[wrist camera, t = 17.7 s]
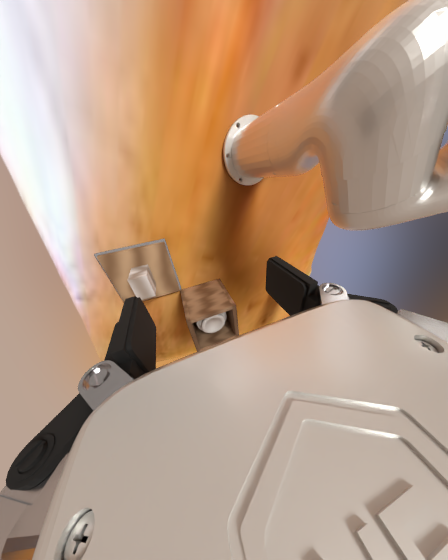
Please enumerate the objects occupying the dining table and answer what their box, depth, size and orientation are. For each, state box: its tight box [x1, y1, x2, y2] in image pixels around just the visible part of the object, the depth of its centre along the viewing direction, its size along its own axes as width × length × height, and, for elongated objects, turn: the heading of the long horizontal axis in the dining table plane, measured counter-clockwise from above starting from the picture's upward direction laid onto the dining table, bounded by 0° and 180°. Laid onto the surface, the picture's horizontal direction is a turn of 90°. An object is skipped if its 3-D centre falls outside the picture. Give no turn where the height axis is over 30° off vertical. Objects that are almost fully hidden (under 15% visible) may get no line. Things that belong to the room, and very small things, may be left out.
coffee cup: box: [196, 312, 227, 333], centre depth 49 cm, size 9×9×12 cm
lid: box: [97, 242, 180, 302], centre depth 40 cm, size 15×15×7 cm
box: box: [180, 279, 239, 352], centre depth 49 cm, size 13×13×14 cm
